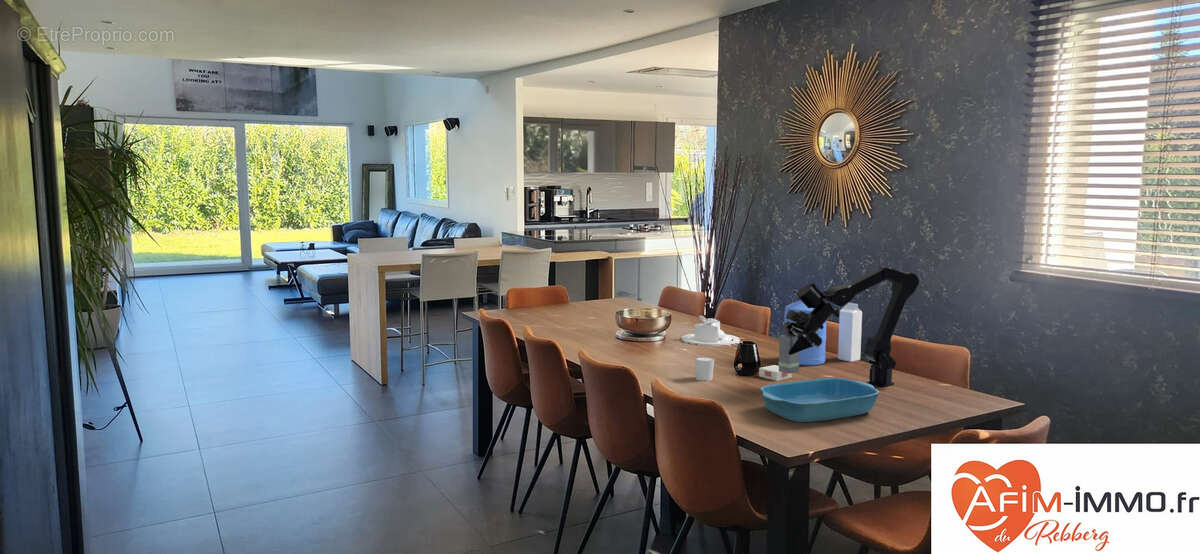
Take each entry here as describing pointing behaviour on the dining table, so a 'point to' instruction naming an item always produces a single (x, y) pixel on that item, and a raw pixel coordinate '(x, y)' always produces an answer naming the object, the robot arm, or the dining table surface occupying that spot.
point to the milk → (850, 333)
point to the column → (785, 360)
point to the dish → (709, 334)
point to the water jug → (813, 353)
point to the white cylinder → (704, 368)
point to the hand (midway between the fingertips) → (785, 352)
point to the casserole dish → (819, 399)
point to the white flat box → (773, 373)
